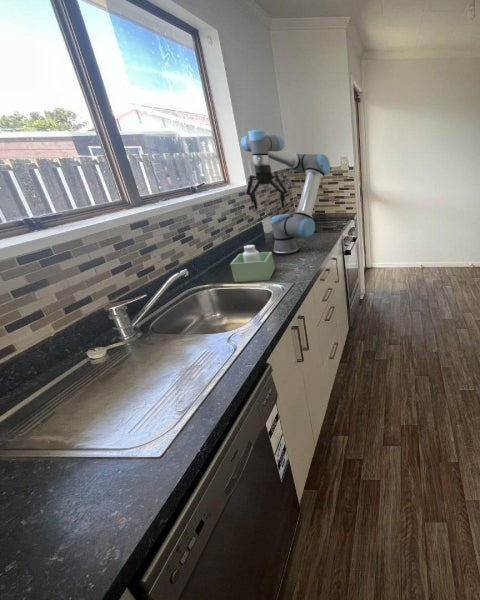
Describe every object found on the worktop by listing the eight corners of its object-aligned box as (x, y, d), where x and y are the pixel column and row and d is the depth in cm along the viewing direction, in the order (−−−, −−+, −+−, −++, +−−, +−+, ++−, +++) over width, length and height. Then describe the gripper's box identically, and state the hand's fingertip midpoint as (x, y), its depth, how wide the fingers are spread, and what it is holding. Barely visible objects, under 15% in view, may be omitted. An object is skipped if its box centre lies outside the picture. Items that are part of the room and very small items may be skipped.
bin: (243, 271, 178) (239, 253, 174) (274, 268, 181) (271, 251, 177) (234, 282, 164) (230, 263, 159) (269, 279, 166) (265, 261, 162)
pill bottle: (243, 275, 170) (237, 247, 163) (255, 270, 176) (249, 243, 170) (255, 277, 167) (249, 249, 161) (266, 272, 174) (261, 244, 167)
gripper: (233, 165, 159) (243, 210, 168) (286, 164, 163) (293, 208, 172) (237, 164, 166) (246, 207, 175) (288, 163, 169) (295, 205, 179)
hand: (269, 208), depth 173 cm, fingers open, 13 cm apart
